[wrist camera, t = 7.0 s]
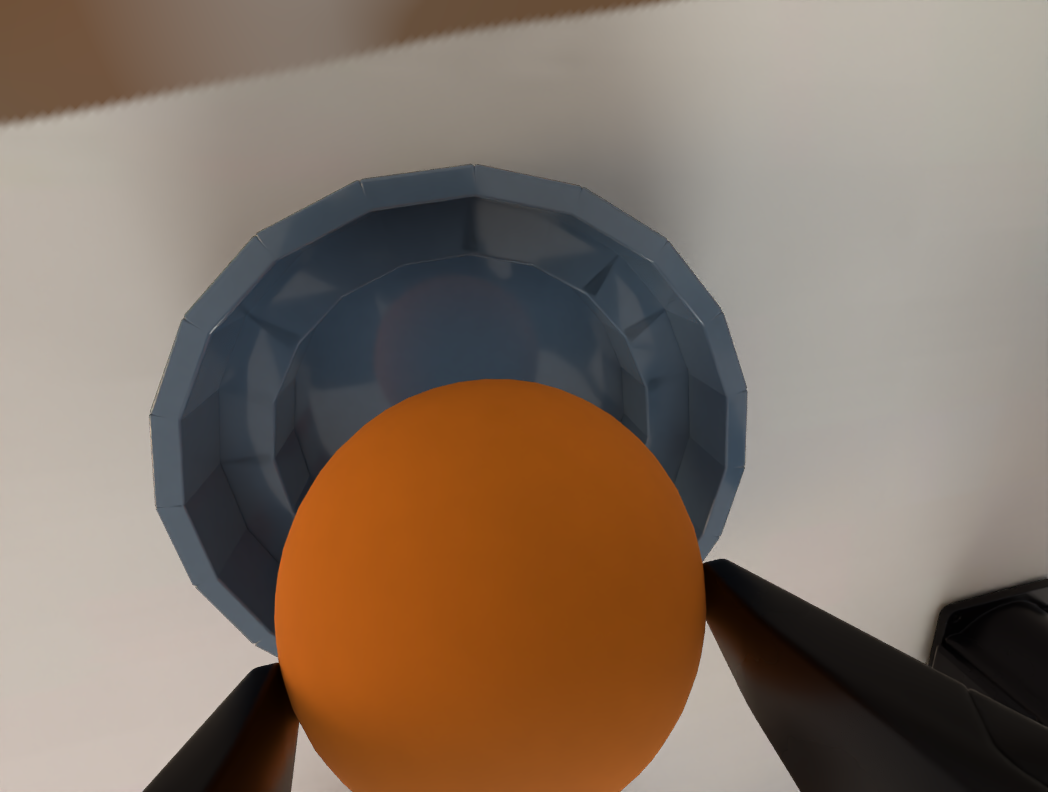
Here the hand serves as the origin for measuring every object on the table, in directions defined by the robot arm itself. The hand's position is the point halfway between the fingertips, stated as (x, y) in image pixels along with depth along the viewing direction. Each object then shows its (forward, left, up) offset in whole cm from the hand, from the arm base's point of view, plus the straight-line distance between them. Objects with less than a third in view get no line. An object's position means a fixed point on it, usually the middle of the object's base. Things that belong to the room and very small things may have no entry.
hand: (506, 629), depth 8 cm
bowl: (0, 0, -10) cm, 10 cm away
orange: (0, 0, -5) cm, 5 cm away
